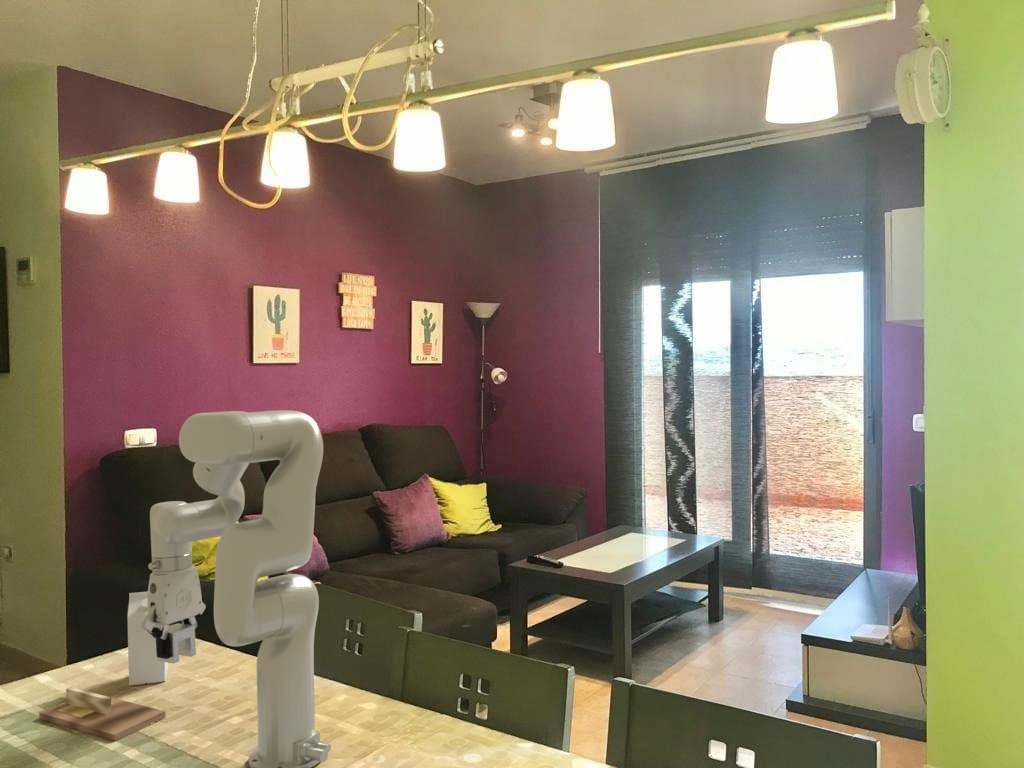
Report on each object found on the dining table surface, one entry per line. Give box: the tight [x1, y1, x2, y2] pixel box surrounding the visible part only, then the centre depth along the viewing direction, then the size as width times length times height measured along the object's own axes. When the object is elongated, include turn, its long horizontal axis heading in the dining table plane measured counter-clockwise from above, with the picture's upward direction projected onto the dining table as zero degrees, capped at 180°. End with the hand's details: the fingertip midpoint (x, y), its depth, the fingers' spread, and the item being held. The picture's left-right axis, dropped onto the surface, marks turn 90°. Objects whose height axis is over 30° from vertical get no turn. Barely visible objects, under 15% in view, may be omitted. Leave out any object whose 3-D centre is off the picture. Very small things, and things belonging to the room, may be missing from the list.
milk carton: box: [126, 591, 169, 686], centre depth 179 cm, size 7×7×19 cm
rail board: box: [38, 686, 167, 742], centre depth 159 cm, size 22×11×4 cm, turn 63°
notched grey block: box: [156, 622, 197, 664], centre depth 166 cm, size 5×5×6 cm
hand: (176, 651), depth 166 cm, fingers closed on notched grey block, 5 cm apart
